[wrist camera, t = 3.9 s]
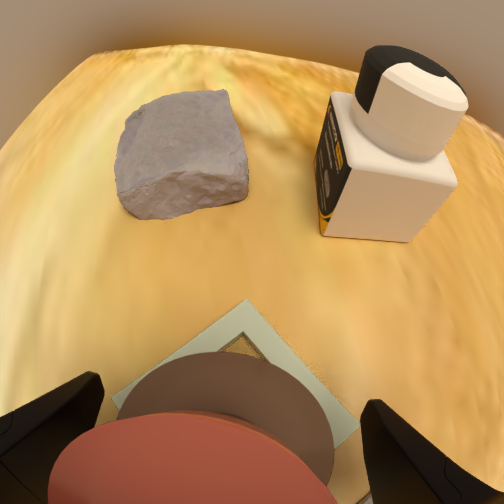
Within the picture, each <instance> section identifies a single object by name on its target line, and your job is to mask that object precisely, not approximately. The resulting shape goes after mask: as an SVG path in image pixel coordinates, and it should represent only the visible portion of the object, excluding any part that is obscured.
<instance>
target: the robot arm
mask: <svg viewBox="0 0 504 504" xmlns="http://www.w3.org/2000/svg"><path fill="white" fill-rule="evenodd" d="M104 394H105V392H104V387H103V384H102V381H101V378H100V375H99V374H97V373H94V372H91V371H87V372H85V373H83V374H81V375H80V376H78V377H76V378H74V379H72V380H70V381H69V382H67V383H65V384H63V385H61V386H59V387H57V388H56V389H54V390H52V391H50V392H48V393H46V394H44V395H42V396H41V397H39V398H37V399H35V400H33V401H31V402H29V403H27V404H25V405H23V406H21V407H20V408H18V409H16V410H14V411H12V412H10V413H8V414H6V415H4V416H2V417H0V504H48V485H49V479H50V474H51V472H52V469H53V466H54V464H55V462H56V460H57V459H58V457H59V455H60V454H61V452H62V451H63V450H64V449H65V448H66V447H67V446H68V445H69V444H70V443H71V442H72V441H73V440H75V439H76V438H77V437H79V436H80V435H81V434H83V433H85V432H87V431H89V430H91V429H93V428H94V427H95V424H96V420H97V417H98V414H99V411H100V407H101V404H102V401H103V398H104ZM360 424H361V433H362V443H363V454H364V461H365V466H366V470H367V475H368V480H369V485H370V490H371V496H372V501H373V504H504V492H500V491H498V490H495V489H494V488H492V487H490V486H489V485H487V484H485V483H484V482H482V481H480V480H479V479H477V478H476V477H474V476H473V475H471V474H470V473H468V472H467V471H465V470H464V469H462V468H461V467H460V466H459V465H457V464H456V463H455V462H453V461H452V460H451V459H450V458H449V457H447V456H446V455H445V454H444V453H443V452H441V451H440V450H439V449H438V448H437V447H435V446H434V445H433V444H432V443H431V442H430V441H428V440H427V439H426V438H425V437H424V436H422V435H421V434H420V433H419V432H418V431H417V430H415V429H414V428H413V427H412V426H411V425H410V424H409V423H407V422H406V421H405V420H404V419H403V418H402V417H400V416H399V415H398V414H397V413H396V412H395V411H394V410H392V409H391V408H390V407H389V406H388V405H387V404H386V403H384V402H383V401H382V400H381V399H371V400H369V401H368V402H367V404H366V406H365V408H364V410H363V412H362V414H361V417H360Z"/></svg>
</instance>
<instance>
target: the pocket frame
mask: <svg viewBox="0 0 504 504" xmlns="http://www.w3.org/2000/svg"><path fill="white" fill-rule="evenodd" d="M243 335H244V336H245V338H246V339H247V340H248V341H249V342H250V344H251V345H252V346H253V347H254V348H255V349H256V351H257V352H258V353H259V354H260V355H261V356H262V358H263V359H264V360H265V361H267V362H269V363H271V364H274V365H276V366H277V367H279V368H281V369H283V370H285V371H286V372H288V373H289V374H291V375H292V376H293V377H295V378H296V379H297V380H299V381H300V382H301V383H302V384H303V385H304V386H305V387H306V388H307V389H308V390H309V391H310V392H311V393H312V395H313V396H314V397H315V398H316V399H317V401H318V402H319V404H320V406H321V407H322V409H323V411H324V412H325V414H326V417H327V419H328V422H329V424H330V427H331V431H332V435H333V442H334V450H335V449H336V448H337V447H338V446H340V445H341V444H342V443H343V442H344V441H345V440H346V439H347V438H348V437H349V436H350V435H351V434H352V433H353V432H354V431H356V430H357V429H358V428H359V427H360V426H361V424H360V423H359V422H358V421H357V420H356V419H355V417H354V416H353V415H352V414H351V413H350V412H349V411H348V410H347V409H346V408H345V407H344V406H343V405H342V404H341V403H340V402H339V401H338V400H337V398H336V397H335V396H334V395H333V394H332V393H331V392H330V391H329V390H328V389H327V388H326V387H325V386H324V385H323V383H322V382H321V381H320V380H319V379H318V378H317V377H316V376H315V375H314V374H313V373H312V371H311V370H310V369H309V368H308V367H307V366H306V365H305V364H304V363H303V362H302V360H301V359H300V358H299V357H298V356H297V355H296V354H295V353H294V352H293V350H292V349H291V348H290V347H289V346H288V345H287V344H286V343H285V341H284V340H283V339H282V338H281V337H280V336H279V335H278V334H277V332H276V331H275V330H274V329H273V328H272V327H271V326H270V325H269V323H268V322H267V321H266V320H265V319H264V318H263V317H262V315H261V314H260V313H259V312H258V311H257V310H256V308H255V307H254V306H253V305H252V304H251V303H250V302H249V300H248V299H245V300H244V301H243V302H242V303H240V304H239V305H238V306H236V307H235V308H234V309H232V310H231V311H230V312H228V313H227V314H226V315H224V316H223V317H222V318H220V319H219V320H218V321H216V322H215V323H214V324H212V325H211V326H210V327H208V328H207V329H206V330H204V331H203V332H202V333H200V334H199V335H198V336H196V337H195V338H193V339H192V340H191V341H189V342H188V343H187V344H185V345H184V346H183V347H181V348H180V349H178V350H177V351H176V352H174V353H173V354H171V355H170V356H169V357H167V358H166V359H165V360H163V361H162V362H160V363H159V364H158V365H156V366H155V367H153V368H152V369H150V370H149V371H148V372H146V373H145V374H143V375H142V376H141V377H139V378H138V379H136V380H135V381H133V382H132V383H131V384H129V385H128V386H126V387H125V388H123V389H122V390H120V391H119V392H118V393H116V394H115V395H113V396H112V397H111V399H112V400H113V402H114V404H115V405H116V407H117V408H118V410H119V411H120V409H121V407H122V405H123V403H124V401H125V399H126V398H127V396H128V395H129V393H130V392H131V390H132V389H133V388H134V387H135V386H136V385H137V384H138V383H139V381H140V380H142V379H143V378H144V377H145V376H146V375H148V374H149V373H150V372H151V371H153V370H155V369H156V368H158V367H160V366H161V365H163V364H165V363H168V362H170V361H172V360H174V359H177V358H181V357H184V356H187V355H192V354H197V353H203V352H222V351H223V350H225V349H226V348H227V347H229V346H230V345H231V344H233V343H234V342H235V341H237V340H238V339H239V338H240V337H242V336H243Z"/></svg>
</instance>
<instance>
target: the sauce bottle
mask: <svg viewBox="0 0 504 504" xmlns="http://www.w3.org/2000/svg"><path fill="white" fill-rule="evenodd" d="M333 463H334V442H333V435H332V431H331V427H330V424H329V422H328V419H327V417H326V414H325V412H324V411H323V409H322V407H321V406H320V404H319V402H318V401H317V399H316V398H315V397H314V396H313V395H312V393H311V392H310V391H309V390H308V389H307V388H306V387H305V386H304V385H303V384H302V383H301V382H300V381H299V380H297V379H296V378H295V377H293V376H292V375H291V374H289V373H288V372H286V371H285V370H283V369H281V368H279V367H277V366H276V365H274V364H271V363H269V362H267V361H264V360H262V359H259V358H255V357H252V356H248V355H244V354H238V353H232V352H203V353H197V354H192V355H187V356H184V357H181V358H177V359H174V360H172V361H170V362H168V363H165V364H163V365H161V366H160V367H158V368H156V369H155V370H153V371H151V372H150V373H149V374H148V375H146V376H145V377H144V378H143V379H142V380H140V381H139V383H138V384H137V385H136V386H135V387H134V388H133V389H132V390H131V392H130V393H129V395H128V396H127V398H126V399H125V401H124V403H123V405H122V407H121V409H120V411H119V414H118V417H117V420H116V421H112V422H109V423H106V424H103V425H100V426H97V427H95V428H93V429H91V430H89V431H87V432H85V433H83V434H81V435H80V436H79V437H77V438H76V439H75V440H73V441H72V442H71V443H70V444H69V445H68V446H67V447H66V448H65V449H64V450H63V451H62V452H61V454H60V455H59V457H58V459H57V460H56V462H55V464H54V466H53V469H52V472H51V474H50V479H49V485H48V504H337V502H336V500H335V499H334V497H333V496H332V494H331V493H330V491H329V490H328V488H327V484H328V482H329V479H330V476H331V473H332V468H333Z"/></svg>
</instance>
